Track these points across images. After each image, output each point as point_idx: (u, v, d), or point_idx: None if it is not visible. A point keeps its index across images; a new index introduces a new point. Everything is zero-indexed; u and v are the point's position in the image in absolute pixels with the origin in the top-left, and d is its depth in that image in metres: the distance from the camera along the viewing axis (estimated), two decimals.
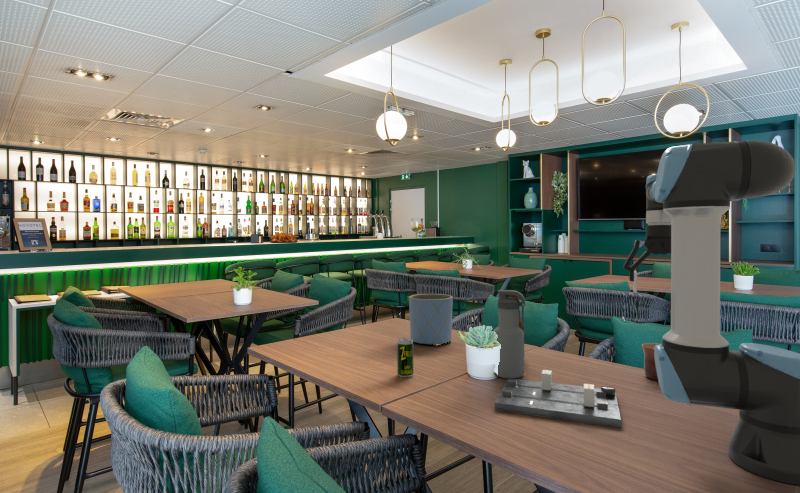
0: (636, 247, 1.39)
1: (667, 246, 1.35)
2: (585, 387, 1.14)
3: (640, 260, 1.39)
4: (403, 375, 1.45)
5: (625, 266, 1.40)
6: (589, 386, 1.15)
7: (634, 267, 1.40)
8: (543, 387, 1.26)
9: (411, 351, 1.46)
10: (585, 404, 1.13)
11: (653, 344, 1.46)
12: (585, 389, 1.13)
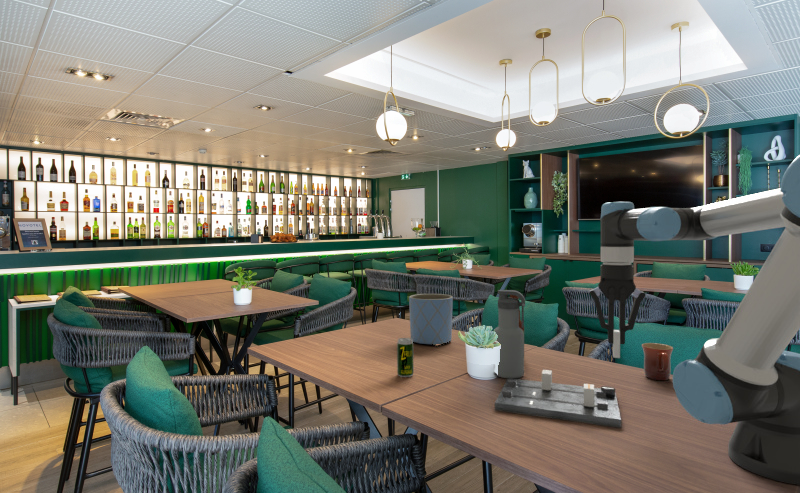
0: (595, 299, 1.13)
1: (623, 292, 1.10)
2: (585, 387, 1.14)
3: (610, 314, 1.12)
4: (403, 375, 1.45)
5: (602, 325, 1.12)
6: (589, 386, 1.15)
7: (611, 325, 1.12)
8: (543, 387, 1.26)
9: (411, 351, 1.46)
10: (585, 404, 1.13)
11: (653, 344, 1.46)
12: (585, 389, 1.13)
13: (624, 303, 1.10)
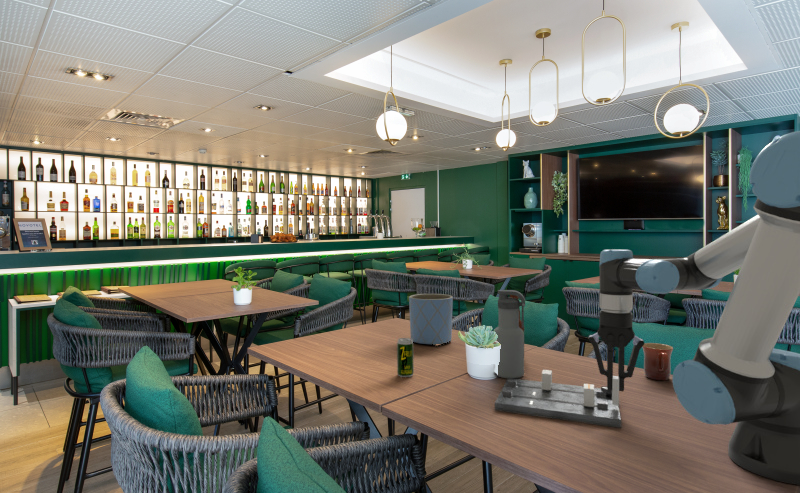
0: (594, 345, 1.13)
1: (622, 340, 1.10)
2: (585, 387, 1.14)
3: (609, 361, 1.12)
4: (403, 375, 1.45)
5: (601, 371, 1.13)
6: (589, 386, 1.15)
7: (610, 372, 1.12)
8: (543, 387, 1.26)
9: (411, 351, 1.46)
10: (585, 404, 1.13)
11: (653, 344, 1.46)
12: (585, 389, 1.13)
13: (623, 351, 1.10)
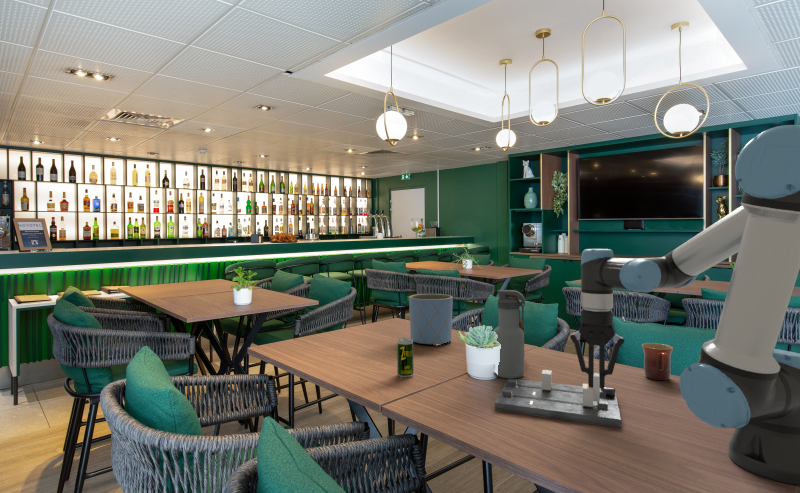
0: (576, 343, 1.15)
1: (603, 338, 1.12)
2: (584, 387, 1.14)
3: (590, 358, 1.14)
4: (403, 375, 1.45)
5: (582, 369, 1.14)
6: (588, 386, 1.15)
7: (591, 369, 1.14)
8: (543, 387, 1.26)
9: (411, 351, 1.46)
10: (584, 404, 1.14)
11: (653, 344, 1.46)
12: (584, 389, 1.14)
13: (603, 348, 1.12)
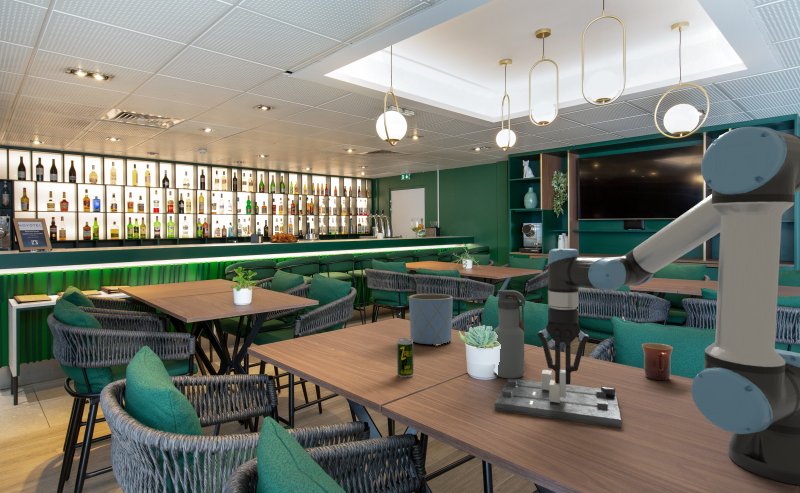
0: (543, 340, 1.18)
1: (568, 335, 1.15)
2: (551, 383, 1.17)
3: (557, 355, 1.17)
4: (403, 375, 1.45)
5: (549, 365, 1.17)
6: (555, 382, 1.18)
7: (557, 366, 1.17)
8: (543, 387, 1.26)
9: (411, 351, 1.46)
10: (551, 400, 1.17)
11: (653, 344, 1.46)
12: (551, 385, 1.17)
13: (569, 345, 1.15)
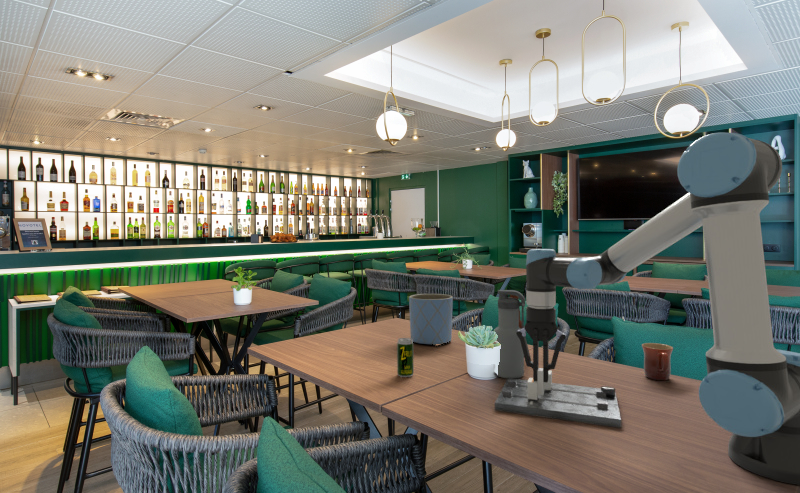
0: (521, 339, 1.20)
1: (545, 334, 1.17)
2: (529, 381, 1.19)
3: (535, 354, 1.19)
4: (403, 375, 1.45)
5: (527, 364, 1.20)
6: (533, 380, 1.20)
7: (535, 364, 1.19)
8: None
9: (411, 351, 1.46)
10: (529, 397, 1.19)
11: (653, 344, 1.46)
12: (529, 383, 1.19)
13: (546, 344, 1.17)
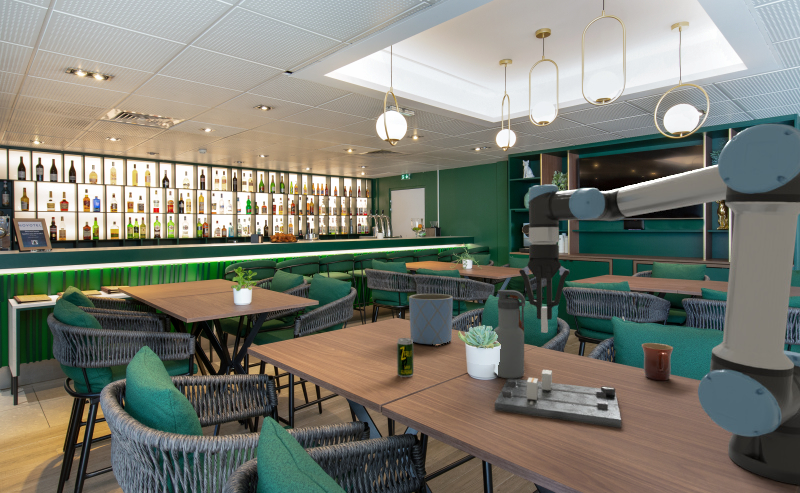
0: (524, 277, 1.19)
1: (549, 270, 1.16)
2: (528, 381, 1.20)
3: (538, 291, 1.18)
4: (403, 375, 1.45)
5: (530, 302, 1.19)
6: (533, 380, 1.20)
7: (539, 301, 1.18)
8: (543, 387, 1.26)
9: (411, 351, 1.46)
10: (528, 397, 1.19)
11: (653, 344, 1.46)
12: (528, 383, 1.19)
13: (550, 280, 1.17)
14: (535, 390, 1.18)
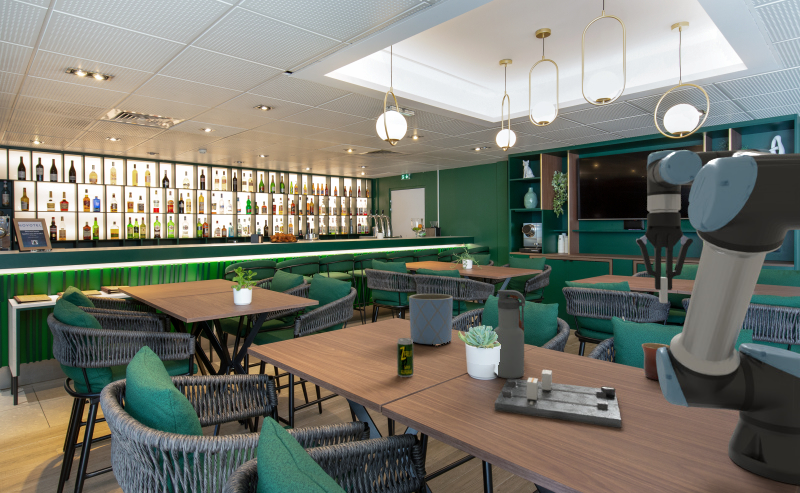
0: (643, 246, 1.16)
1: (671, 239, 1.13)
2: (528, 381, 1.20)
3: (658, 261, 1.15)
4: (403, 375, 1.45)
5: (649, 272, 1.16)
6: (533, 380, 1.20)
7: (658, 271, 1.15)
8: (543, 387, 1.26)
9: (411, 351, 1.46)
10: (528, 397, 1.19)
11: (653, 344, 1.46)
12: (528, 383, 1.19)
13: (672, 249, 1.13)
14: (535, 390, 1.18)
